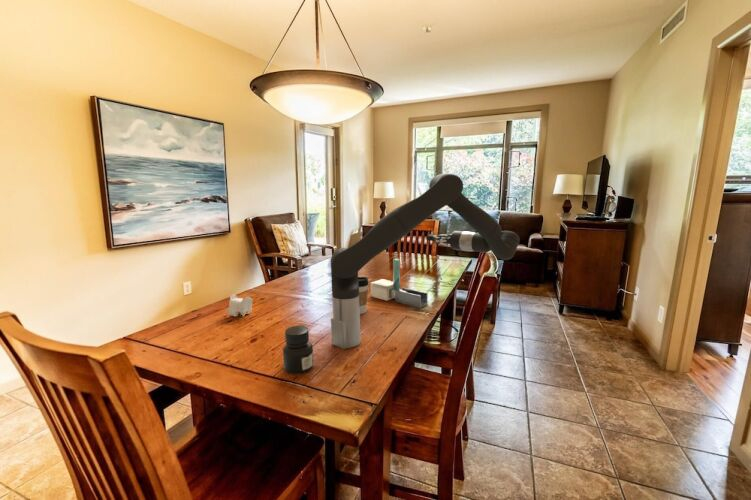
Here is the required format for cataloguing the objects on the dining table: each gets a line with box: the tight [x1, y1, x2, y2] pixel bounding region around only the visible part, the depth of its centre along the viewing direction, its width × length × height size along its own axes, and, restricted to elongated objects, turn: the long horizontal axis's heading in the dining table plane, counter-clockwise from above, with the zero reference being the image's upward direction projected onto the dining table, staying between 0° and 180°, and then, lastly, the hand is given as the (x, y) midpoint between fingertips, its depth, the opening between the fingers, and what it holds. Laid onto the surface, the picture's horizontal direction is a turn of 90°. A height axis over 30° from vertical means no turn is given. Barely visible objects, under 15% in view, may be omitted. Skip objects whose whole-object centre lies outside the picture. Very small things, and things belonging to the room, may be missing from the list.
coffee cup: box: [358, 276, 369, 315], centre depth 147 cm, size 8×8×15 cm
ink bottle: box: [282, 325, 315, 375], centre depth 102 cm, size 10×9×12 cm
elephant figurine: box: [224, 293, 254, 317], centre depth 146 cm, size 10×12×9 cm
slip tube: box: [389, 258, 407, 299], centre depth 163 cm, size 4×16×19 cm, turn 48°
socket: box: [370, 278, 394, 301], centre depth 168 cm, size 9×10×7 cm
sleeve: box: [394, 287, 428, 309], centre depth 157 cm, size 6×14×6 cm, turn 48°
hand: (427, 237), depth 144 cm, fingers closed
